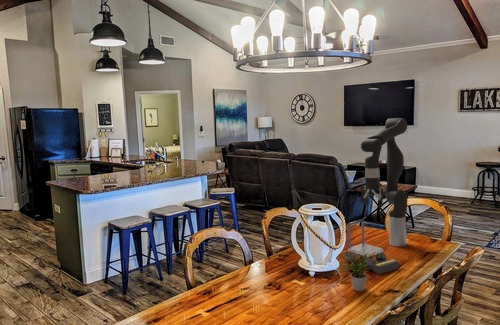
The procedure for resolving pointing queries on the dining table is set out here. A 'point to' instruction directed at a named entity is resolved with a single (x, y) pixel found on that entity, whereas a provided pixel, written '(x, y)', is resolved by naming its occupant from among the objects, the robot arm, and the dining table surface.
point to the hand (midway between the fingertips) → (373, 205)
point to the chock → (385, 266)
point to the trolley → (364, 249)
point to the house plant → (358, 272)
